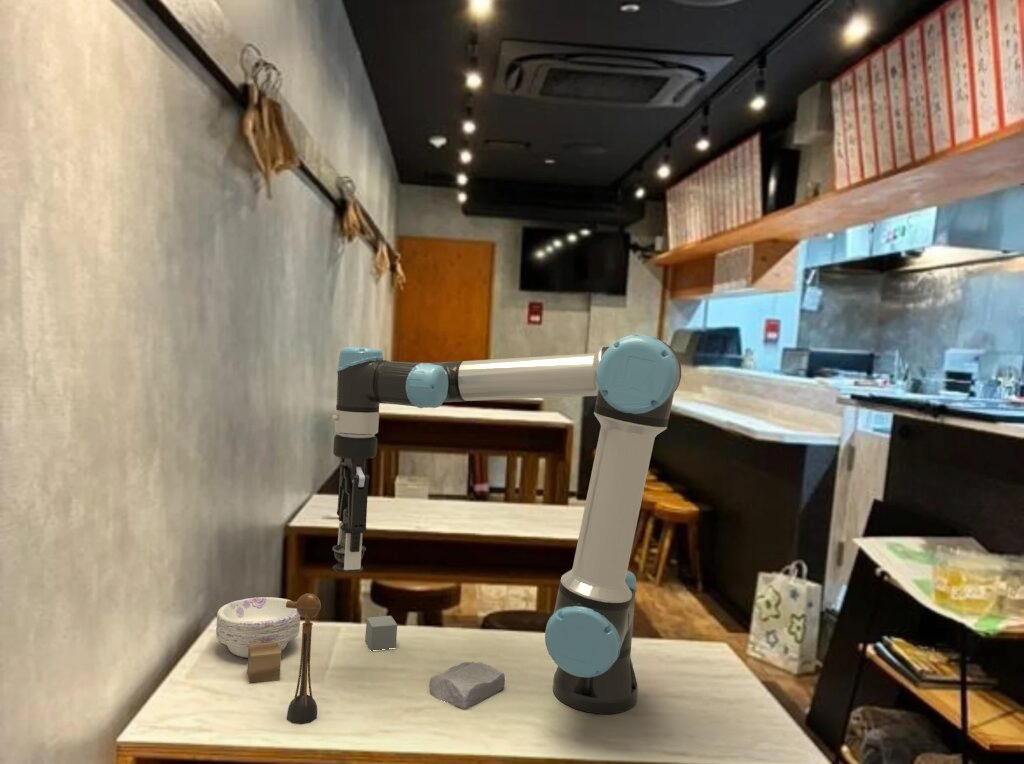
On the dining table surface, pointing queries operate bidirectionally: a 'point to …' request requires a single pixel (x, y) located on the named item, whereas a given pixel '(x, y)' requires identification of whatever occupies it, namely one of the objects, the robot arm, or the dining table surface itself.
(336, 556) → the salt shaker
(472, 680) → the stone block
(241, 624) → the paper bowls
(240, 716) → the dining table surface
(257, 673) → the walnut cube
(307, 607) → the wooden tabletop sculpture
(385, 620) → the slate cube
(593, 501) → the robot arm
